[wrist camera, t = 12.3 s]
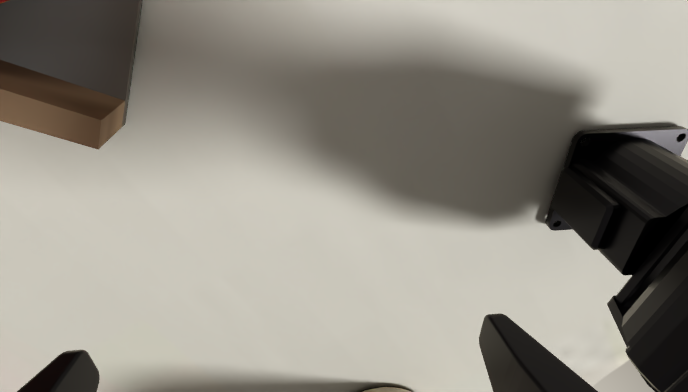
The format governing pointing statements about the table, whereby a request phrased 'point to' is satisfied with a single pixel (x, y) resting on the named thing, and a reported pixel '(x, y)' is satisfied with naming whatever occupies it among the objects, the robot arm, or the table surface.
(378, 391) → the travel mug
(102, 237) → the table surface
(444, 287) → the table surface
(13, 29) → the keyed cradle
